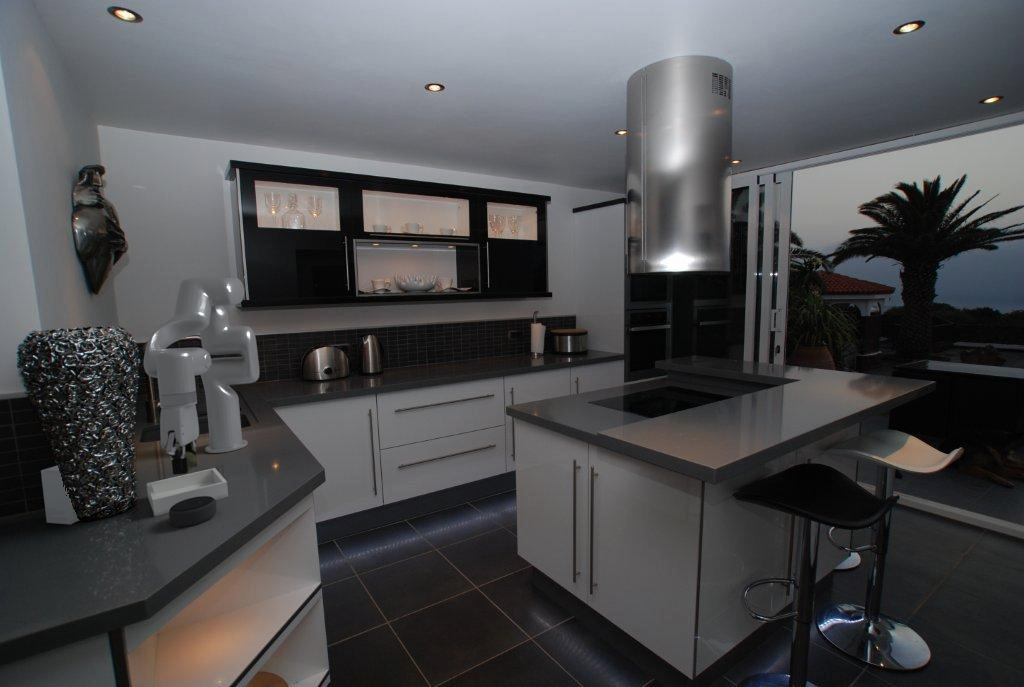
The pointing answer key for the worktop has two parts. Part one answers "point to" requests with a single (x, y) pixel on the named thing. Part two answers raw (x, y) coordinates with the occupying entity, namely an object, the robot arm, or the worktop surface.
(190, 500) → the smart speaker
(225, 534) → the worktop surface
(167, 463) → the worktop surface
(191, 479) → the bin
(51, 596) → the worktop surface
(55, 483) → the grey tall block
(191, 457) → the lime
